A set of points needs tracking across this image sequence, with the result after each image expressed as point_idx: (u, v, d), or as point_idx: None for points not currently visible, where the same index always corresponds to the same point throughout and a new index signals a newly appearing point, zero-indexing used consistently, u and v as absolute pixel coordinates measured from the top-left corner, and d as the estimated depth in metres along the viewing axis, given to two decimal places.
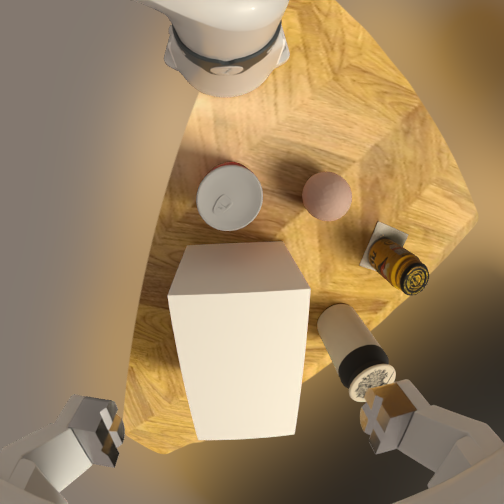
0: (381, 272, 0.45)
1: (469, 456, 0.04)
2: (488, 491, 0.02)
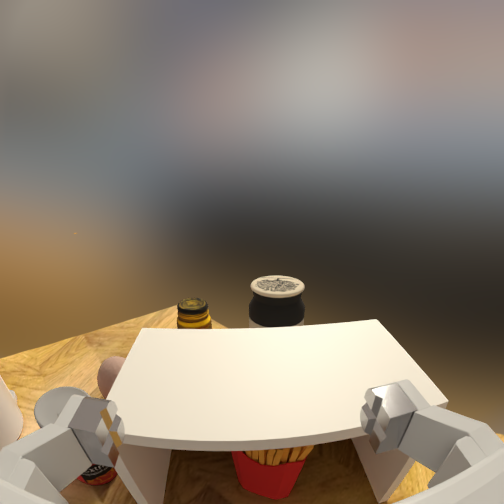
0: None
1: (469, 456, 0.04)
2: (488, 491, 0.02)
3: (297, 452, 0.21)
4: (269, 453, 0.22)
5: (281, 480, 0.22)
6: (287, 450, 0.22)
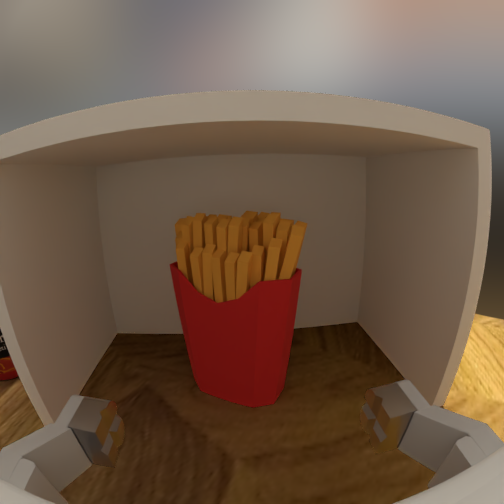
0: None
1: (469, 456, 0.04)
2: (488, 491, 0.02)
3: (276, 251, 0.15)
4: (228, 260, 0.15)
5: (255, 341, 0.16)
6: (259, 252, 0.15)
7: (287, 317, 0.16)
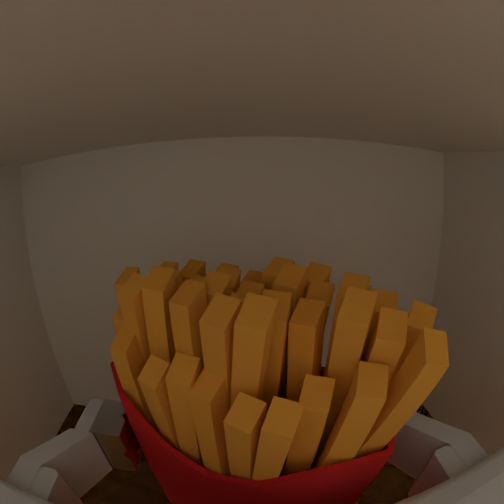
0: None
1: (448, 467, 0.04)
2: (488, 491, 0.02)
3: (373, 405, 0.04)
4: (233, 419, 0.05)
5: None
6: (321, 402, 0.05)
7: None
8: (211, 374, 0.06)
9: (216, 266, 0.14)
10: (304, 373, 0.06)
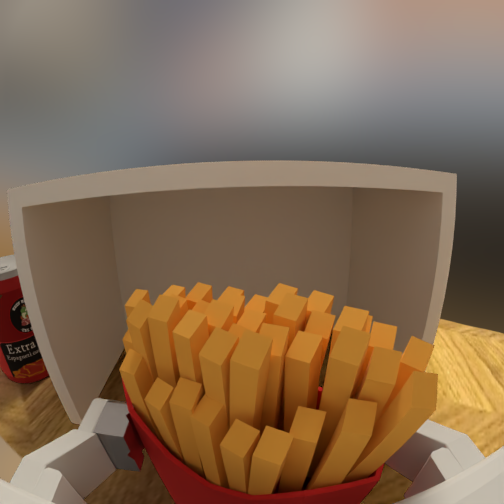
0: None
1: (444, 469, 0.04)
2: (488, 491, 0.02)
3: (359, 440, 0.04)
4: (229, 444, 0.05)
5: None
6: (311, 433, 0.05)
7: None
8: (211, 400, 0.06)
9: (223, 247, 0.28)
10: (299, 402, 0.06)
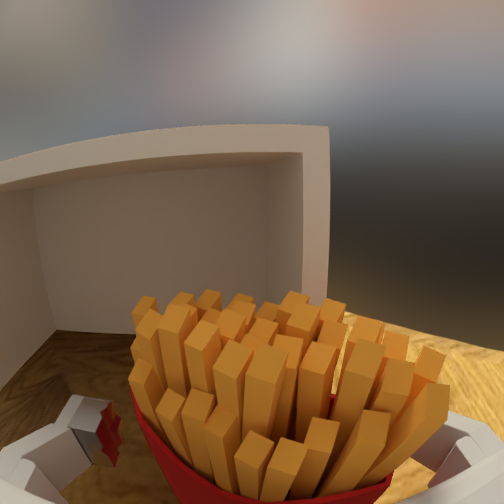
0: None
1: (469, 456, 0.04)
2: (488, 491, 0.02)
3: (372, 450, 0.04)
4: (243, 455, 0.05)
5: None
6: (325, 443, 0.05)
7: None
8: (224, 410, 0.06)
9: (127, 240, 0.26)
10: (312, 411, 0.06)
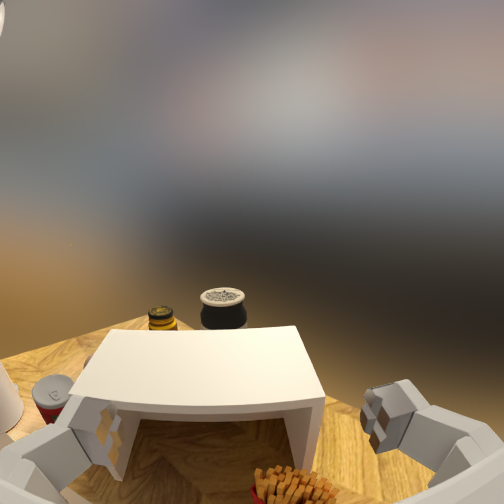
0: None
1: (469, 456, 0.04)
2: (488, 491, 0.02)
3: None
4: None
5: None
6: None
7: None
8: (286, 498, 0.20)
9: None
10: (307, 497, 0.20)
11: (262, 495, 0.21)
